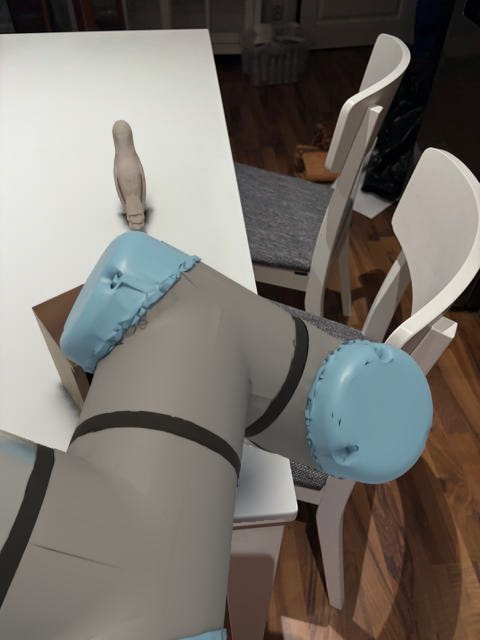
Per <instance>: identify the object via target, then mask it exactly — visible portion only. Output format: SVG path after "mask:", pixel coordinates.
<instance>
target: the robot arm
mask: <svg viewBox="0 0 480 640" xmlns="http://www.w3.org/2000/svg"><path fill="white" fill-rule="evenodd" d="M84 283H85V284H84ZM84 283H83V284H84V286H83V288H82V290H81V292H80V294H79V295H78V297H77V299H76V301H75V304H74V306H73V308H72V310H71V312H70V314H69V316H68V318H67V321H66V323H65V326H64V331H63V333H62V335H61V338H60V348H61V352H62V353H63V354H64V356H65V357H66V358H68V359H69V360H71V361H73V362H75V363H76V364H78V365H80V366H82V367H83V369H84V371H85V372H89V373H93V374H94V377H93V380H92V383H91V386H90V389H89V392H88V394H87V397H86V400H85V403H84V406H83V408H82V411H80V414H79V417H78V419H77V422H76V424H75V425H76V426H75V428H74V431H73V432H72V435H71V438H70V441H69V443H68V447H67V449H66V451H63V450H61V449H58V448H54V447H53V448H52V447H50V446H47V445H44V444H41V443H38V442H35V441H34V440H30V439H28V438H26V437H23V436H20V435H18V434H14V433H12V432H9V431H7V430H4V429H1V428H0V640H227V638H228V634H227V628H226V627H224V626H225V616H226V604H227V593H228V584H229V573H230V562H231V552H232V544H233V531H234V523H235V522H234V521H235V510H236V502H237V501H236V500H237V490H238V487H239V482H240V474H241V467H242V458H243V452H244V451H243V450H244V444H245V445H246V446H250V447H252V448H255V449H259V450H261V451H264V452H266V453H270V454H274V455H278V456H281V457H283V458H286V459H288V460H290V461H293V462H296V463H298V464H301V465H304V466H307V467H309V468H313V469H315V470H317V471H320V472H321V473H324V474H326V475H328V476H330V477H332V478H335V479H336V480H337V479H338V480H339V481H343V480H345V479H346V480H350V481H354V482H358V483H361V484H368V485H379V484H385V483H389V482H390V481H393V480H396V479H398V478H400V477H401V476H403V475H404V474H405V473H407V472H408V471H409V470H410V469H412V467H413V466H415V464H416V463H417V461H418V460H419V458H420V457H421V455H422V453H424V450H425V448H426V443H427V440H428V438H429V433H430V431H431V428H432V426H433V419H434V418H433V417H434V416H433V415H434V407H433V406H434V405H433V398H432V397H433V395H432V392H431V388H430V385H429V382H428V380H427V378H426V375H425V373H424V371H423V370H422V369H421V367H420V365H419V364H418V362H416V360H414V358H412V356H411V355H409V353H408V352H406V351H404V350H403V349H401V348H399V347H397V346H395V345H392V344H388V343H385V342H373V341H370V340H368V339H362V340H361V339H360V338H357V339H351V340H349V341H344V340H340V339H338V338H336V337H335V336H333V335H331V334H329V333H328V332H326V331H324V330H323V329H320V328H318V326H316V325H314V324H312V323H310V322H308V321H307V320H304V319H303V318H301V317H299V316H297V315H293V314H292V313H290V312H289V311H287V310H285V309H283V308H282V307H280V306H278V305H277V304H274V303H272V302H271V301H270V300H268V299H265V298H264V297H263V296H261V295H259V294H258V293H256V292H254V291H252V290H250V289H249V288H247V287H245V286H244V285H242V284H240V283H238V282H237V281H235V280H233V279H232V278H230V277H228V276H227V275H225V274H223V273H221V272H220V271H218V270H217V269H215V268H214V267H211V266H210V265H208V264H207V263H205V262H203V261H202V258H200V256H198V255H196V254H194V255H191V254H188V253H187V252H184V251H182V250H180V249H179V248H176V247H174V246H172V245H171V244H169V243H168V242H165V241H163V240H160V239H157V238H156V237H154V236H151V234H148V233H146V232H144V231H140V230H129V231H125V232H122V233H121V234H119V235H117V236H115V238H113V240H112V241H110V243H109V244H108V245H107V247H106V248H105V249H104V250H103V252H102V254H101V255H100V257H99V258H98V260H97V262H96V264H95V265H94V267H93V269H92V270H91V271H90V273H89V275H88V277H87V278H86V281H85V282H84Z"/></svg>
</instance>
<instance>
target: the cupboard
mask: <svg viewBox="0 0 480 640" xmlns="http://www.w3.org/2000/svg"><path fill="white" fill-rule="evenodd" d="M84 284H85V282H84V283H82V284H80V285H77V286H75V287H73V288H71V289H69V290H66V291H64V292H62V293H60V294H58V295H56V296H54V297H51V298H49V299H47V300H45V301H43V302H40V303H39V304H36V305H33V306H32V307H31V310H32V313H33V315H34V317H35V320H36V322H37V325H38V328H39V330H40V333H41V334H42V337H43V339H44V342H45V344H46V347H47V350H48V351H49V354H50V356H51V358H52V359H51V360H52V361H53V364H54V366H55V368H56V372H57V373H58V375H59V378H60V380H61V383H62V385H63V387H64V388H65V390H66V391H67V393H68V394H69V396H70V398H71V400H72V401H73V403H74V404H75V405H76V407H77V408H78V410H79V411H80V412H81V411H82V408H83V406H84V403H85V400H86V397H87V394H88V392H89V389H90V386H91V383H92V380H93V377H94V374H93V373H89V372H85V371H84V369H83V367H82V366H80V365H78V364H76V363H75V362H73V361H71V360H69V359H68V358H66V357H65V356H64V354H63V353H62V352H61V348H60V338H61V335H62V333H63V331H64V326H65V323H66V321H67V318H68V316H69V314H70V312H71V310H72V308H73V306H74V304H75V301H76V299H77V297H78V295H79V294H80V292H81V290H82V288H83V286H84Z"/></svg>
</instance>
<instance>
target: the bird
mask: <svg viewBox="0 0 480 640" xmlns="http://www.w3.org/2000/svg"><path fill="white" fill-rule="evenodd" d="M111 129H112V130H111V135H112V140H113V145H114V157H113V158H114V159H113V170H112V172H113V173H112V174H113V180H114V186H115V191H116V193H117V197H118V198H119V201H120V204H121V207H122V209H123V211H124V212H125V213H122V215H123V216H124V217H125V218H126V220H127V221H128V228H129V229H134V230H140V229H141V228H144V227H145V217H146V214H147V212H148V211H149V209H148V210H147V209H146V210H145V208H146V200H147V199H146V198H147V182H146V174H145V171H144V167H143V164H142V161H141V159H140V157H139V155H138V153H137V151H136V147H135V142H134V141H135V140H134V135H133V130H132V127H131V125H130V124H129V122H128V121H126V120H125V119H118V120H116V121H115V122H114V123H113V125H112V128H111Z"/></svg>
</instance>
